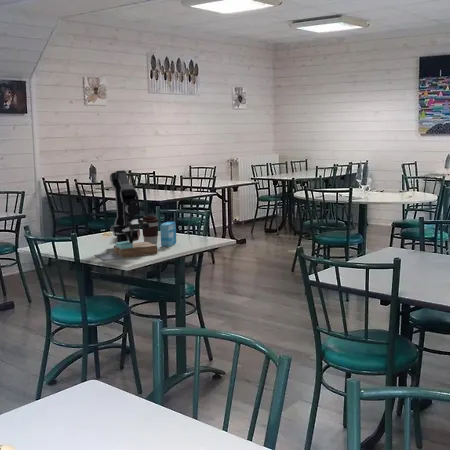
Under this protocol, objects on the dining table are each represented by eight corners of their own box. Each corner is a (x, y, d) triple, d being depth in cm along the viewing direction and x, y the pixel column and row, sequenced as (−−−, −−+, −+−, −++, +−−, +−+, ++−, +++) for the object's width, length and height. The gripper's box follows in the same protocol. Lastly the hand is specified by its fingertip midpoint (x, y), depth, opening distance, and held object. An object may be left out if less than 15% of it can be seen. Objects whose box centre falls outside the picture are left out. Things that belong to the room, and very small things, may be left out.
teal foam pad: (115, 246, 303) (115, 242, 303) (126, 245, 306) (126, 241, 306) (121, 249, 295) (121, 245, 295) (133, 247, 298) (132, 243, 298)
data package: (168, 247, 318) (167, 224, 317) (160, 247, 320) (159, 224, 318) (176, 243, 330) (175, 221, 328) (168, 243, 331) (167, 221, 329)
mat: (94, 255, 302) (94, 254, 302) (113, 253, 307) (113, 252, 307) (104, 260, 288) (104, 260, 288) (124, 258, 293) (124, 257, 293)
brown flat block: (114, 253, 306) (113, 245, 306) (147, 249, 315) (146, 241, 314) (123, 257, 294) (122, 249, 293) (157, 253, 303) (157, 245, 302)
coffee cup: (157, 241, 338) (156, 214, 335) (161, 244, 328) (160, 216, 326) (140, 242, 335) (138, 215, 332) (143, 245, 325) (142, 218, 323)
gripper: (116, 216, 289) (118, 248, 291) (152, 213, 298) (154, 244, 300) (109, 214, 298) (111, 245, 301) (144, 210, 307) (146, 241, 310)
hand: (131, 244), depth 303 cm, fingers closed
